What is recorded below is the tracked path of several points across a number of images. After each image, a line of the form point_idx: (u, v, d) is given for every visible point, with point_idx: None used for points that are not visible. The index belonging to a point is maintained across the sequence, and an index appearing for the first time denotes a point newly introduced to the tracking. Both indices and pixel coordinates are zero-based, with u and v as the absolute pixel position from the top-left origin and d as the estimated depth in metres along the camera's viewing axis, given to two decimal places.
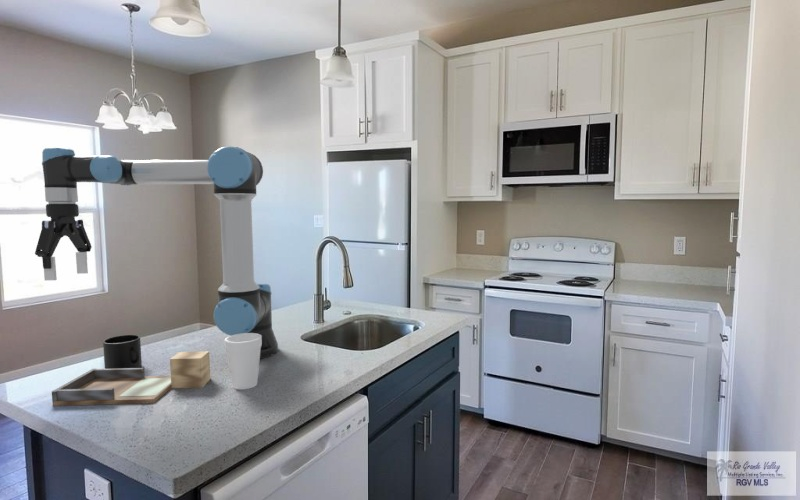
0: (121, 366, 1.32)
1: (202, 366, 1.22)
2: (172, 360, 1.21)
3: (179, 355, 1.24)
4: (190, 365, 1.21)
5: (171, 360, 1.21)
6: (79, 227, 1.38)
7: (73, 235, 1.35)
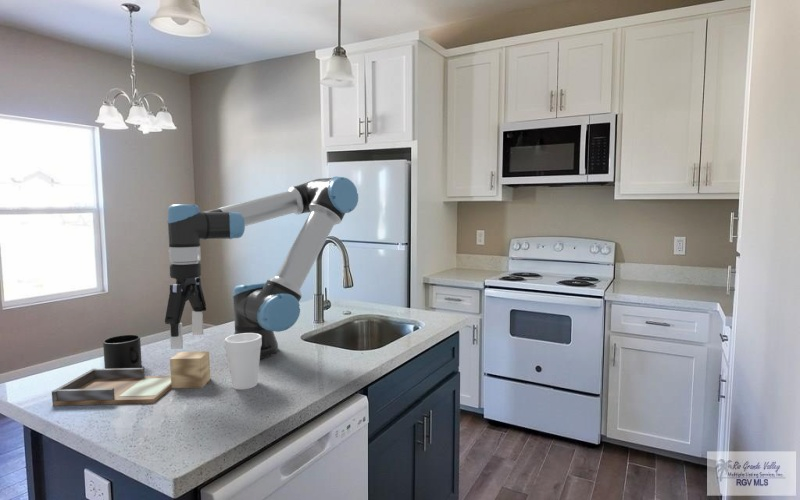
0: (121, 366, 1.32)
1: (202, 366, 1.22)
2: (172, 360, 1.21)
3: (178, 355, 1.24)
4: (190, 365, 1.21)
5: (171, 360, 1.21)
6: (197, 285, 1.28)
7: (193, 295, 1.25)
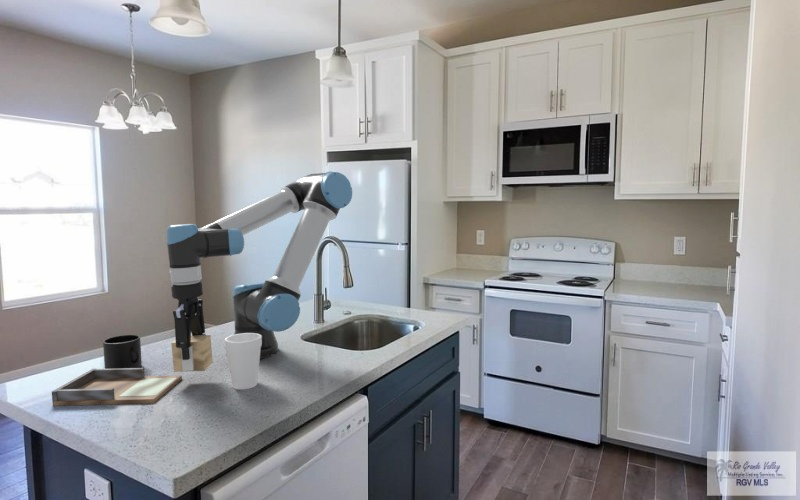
0: (121, 366, 1.32)
1: (203, 349, 1.22)
2: (173, 344, 1.21)
3: None
4: (192, 348, 1.21)
5: (172, 344, 1.21)
6: (198, 307, 1.28)
7: (194, 316, 1.25)
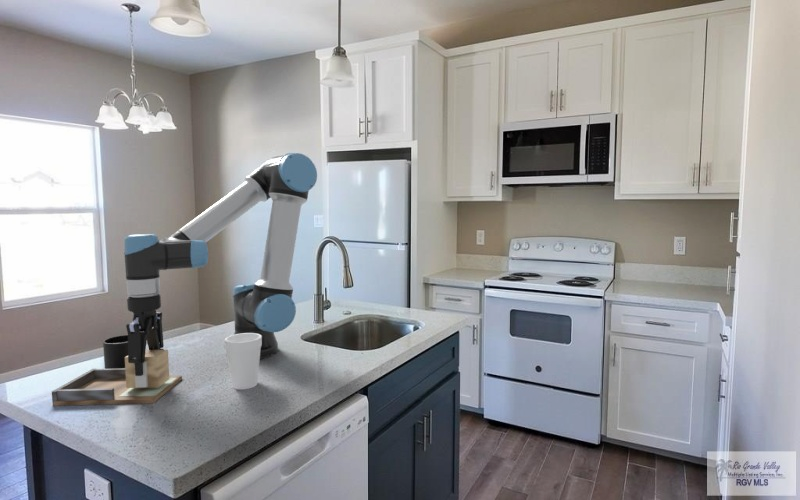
0: (121, 366, 1.32)
1: (158, 365, 1.17)
2: (127, 358, 1.16)
3: None
4: None
5: (126, 358, 1.16)
6: (157, 320, 1.23)
7: (151, 330, 1.20)
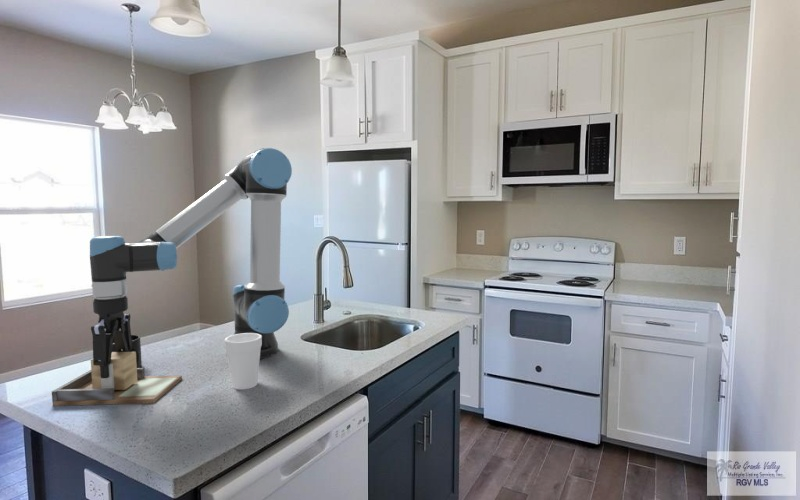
0: None
1: (125, 367, 1.17)
2: None
3: None
4: None
5: (92, 361, 1.15)
6: (125, 322, 1.23)
7: (118, 332, 1.20)
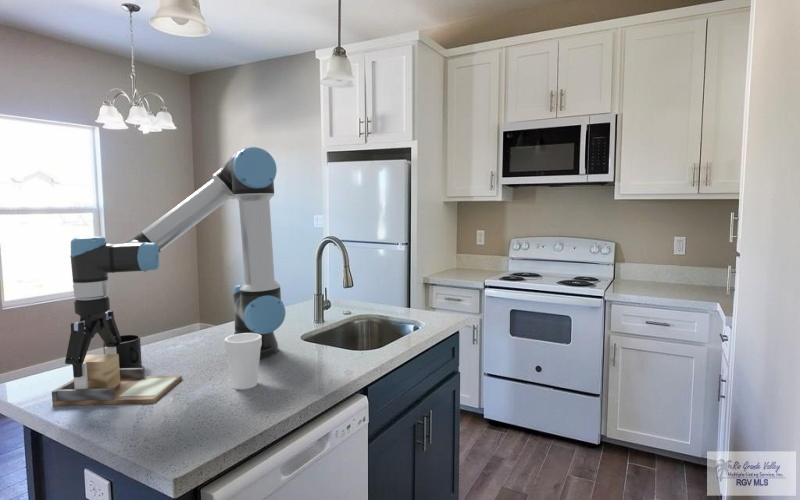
0: (121, 366, 1.32)
1: (107, 369, 1.17)
2: None
3: None
4: (94, 369, 1.16)
5: None
6: (109, 319, 1.23)
7: (103, 330, 1.21)
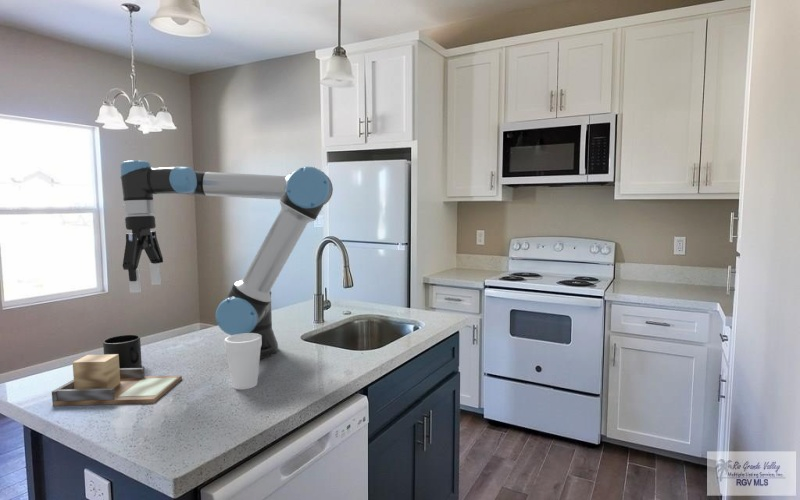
0: (121, 366, 1.32)
1: (107, 369, 1.17)
2: (75, 363, 1.15)
3: (84, 358, 1.18)
4: (94, 369, 1.16)
5: (74, 364, 1.15)
6: (153, 239, 1.38)
7: (149, 247, 1.36)
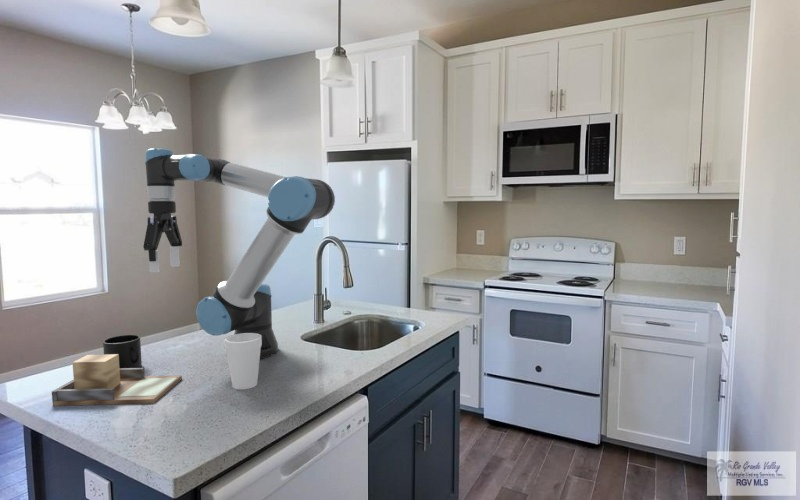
0: (121, 366, 1.32)
1: (107, 369, 1.17)
2: (75, 363, 1.15)
3: (84, 358, 1.18)
4: (94, 369, 1.16)
5: (74, 364, 1.15)
6: (173, 223, 1.47)
7: (169, 230, 1.44)
